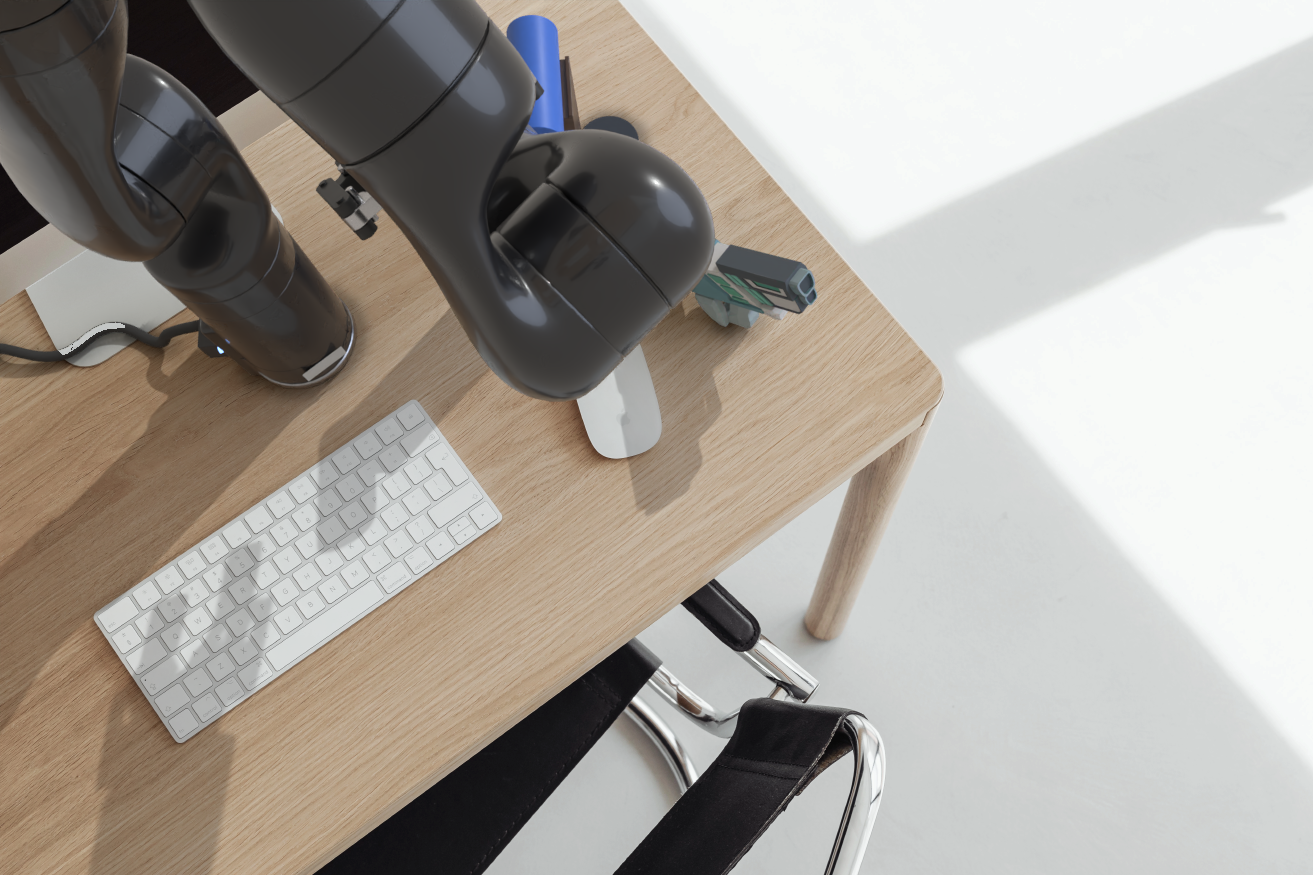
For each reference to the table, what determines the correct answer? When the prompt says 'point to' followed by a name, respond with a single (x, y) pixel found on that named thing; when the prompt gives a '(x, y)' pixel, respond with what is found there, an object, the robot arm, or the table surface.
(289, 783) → the table surface
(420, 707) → the table surface
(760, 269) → the toy gun
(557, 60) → the tube
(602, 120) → the mat
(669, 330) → the table surface
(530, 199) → the robot arm
